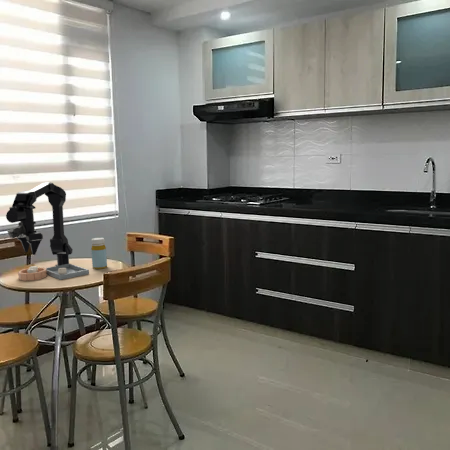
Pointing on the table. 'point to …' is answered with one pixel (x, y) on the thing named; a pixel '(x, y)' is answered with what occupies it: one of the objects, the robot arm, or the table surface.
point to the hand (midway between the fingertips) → (30, 253)
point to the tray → (71, 271)
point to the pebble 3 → (62, 271)
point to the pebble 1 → (31, 270)
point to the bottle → (98, 253)
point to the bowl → (32, 274)
